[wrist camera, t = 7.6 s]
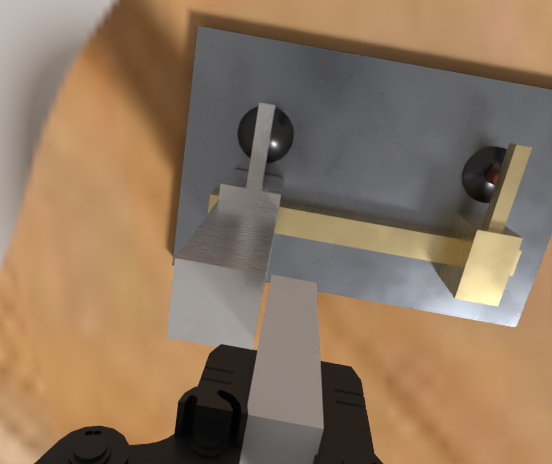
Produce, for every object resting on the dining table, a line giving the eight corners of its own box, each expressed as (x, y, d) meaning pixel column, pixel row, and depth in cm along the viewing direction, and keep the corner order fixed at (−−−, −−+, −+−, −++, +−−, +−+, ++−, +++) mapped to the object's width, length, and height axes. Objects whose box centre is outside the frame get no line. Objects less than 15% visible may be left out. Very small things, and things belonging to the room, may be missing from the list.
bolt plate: (200, 27, 25) (197, 25, 24) (594, 98, 25) (604, 98, 24) (175, 260, 29) (171, 265, 28) (510, 320, 29) (516, 328, 28)
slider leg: (243, 97, 25) (191, 107, 13) (297, 107, 25) (292, 125, 13) (222, 242, 28) (164, 357, 16) (271, 250, 28) (248, 372, 16)
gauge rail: (227, 90, 25) (216, 90, 22) (547, 148, 25) (580, 156, 22) (208, 233, 28) (196, 251, 25) (497, 286, 28) (521, 310, 25)
